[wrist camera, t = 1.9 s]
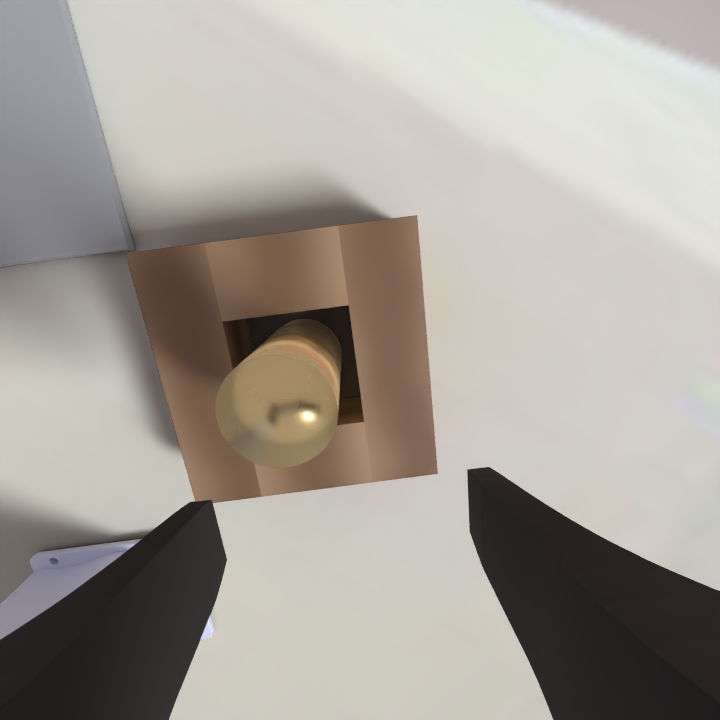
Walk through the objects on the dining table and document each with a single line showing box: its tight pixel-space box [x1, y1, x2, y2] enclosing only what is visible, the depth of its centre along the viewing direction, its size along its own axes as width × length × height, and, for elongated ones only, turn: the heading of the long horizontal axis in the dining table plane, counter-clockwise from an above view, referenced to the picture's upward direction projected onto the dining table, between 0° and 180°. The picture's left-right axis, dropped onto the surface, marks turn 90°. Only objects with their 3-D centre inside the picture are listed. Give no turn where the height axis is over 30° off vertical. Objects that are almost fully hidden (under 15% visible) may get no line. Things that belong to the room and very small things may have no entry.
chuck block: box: [125, 215, 438, 503], centre depth 18 cm, size 12×12×4 cm
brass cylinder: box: [215, 319, 342, 468], centre depth 16 cm, size 4×4×8 cm
